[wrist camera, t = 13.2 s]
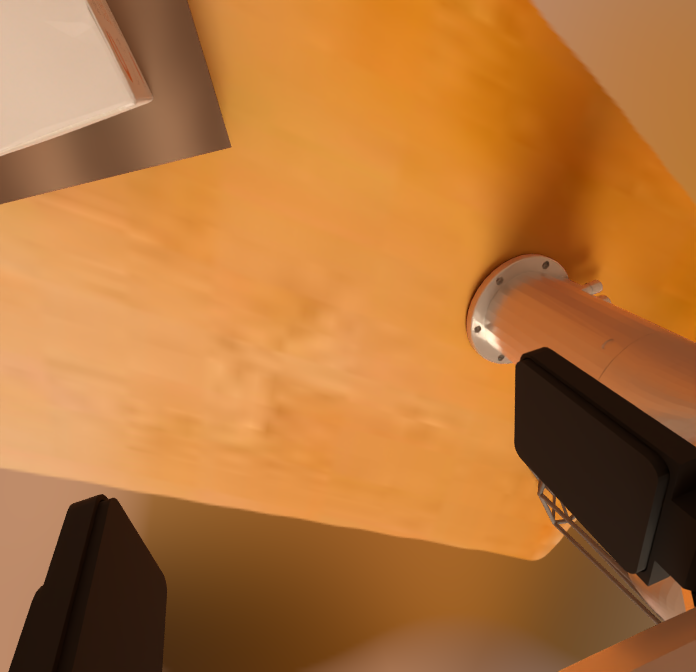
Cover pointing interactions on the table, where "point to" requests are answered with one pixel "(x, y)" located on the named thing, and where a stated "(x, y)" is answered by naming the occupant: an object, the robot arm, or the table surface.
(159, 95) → the walnut plinth
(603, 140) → the table surface
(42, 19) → the small box
